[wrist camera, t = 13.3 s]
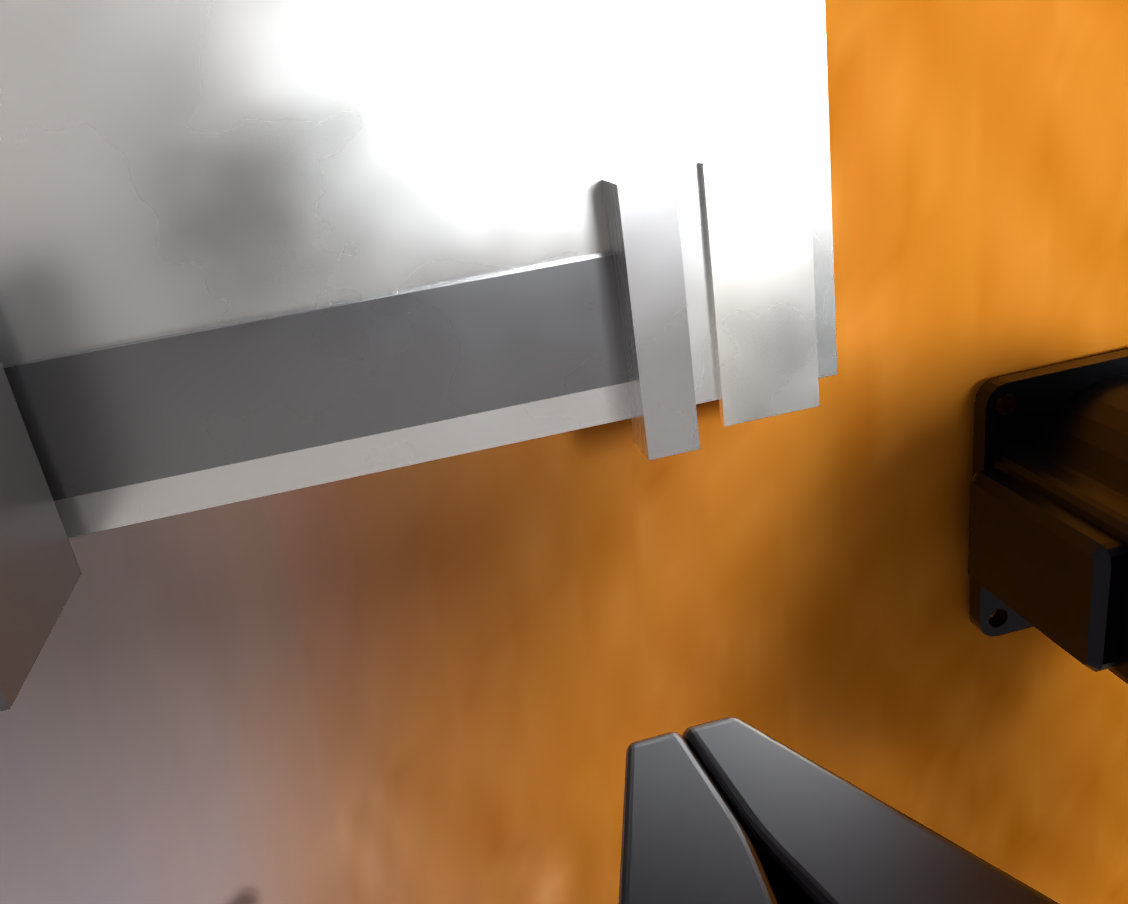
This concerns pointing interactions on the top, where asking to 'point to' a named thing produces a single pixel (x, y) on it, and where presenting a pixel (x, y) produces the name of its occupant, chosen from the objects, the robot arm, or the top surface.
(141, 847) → the top surface
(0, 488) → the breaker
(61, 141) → the panel
